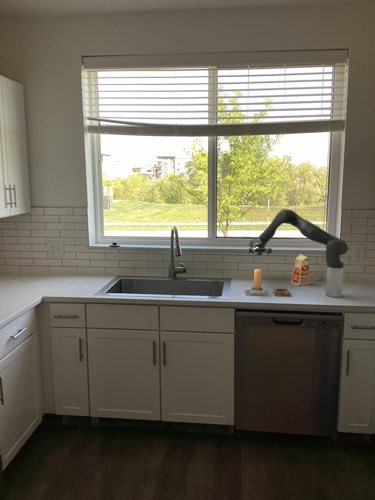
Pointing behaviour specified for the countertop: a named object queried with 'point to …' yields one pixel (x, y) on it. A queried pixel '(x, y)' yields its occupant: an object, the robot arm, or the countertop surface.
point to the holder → (281, 292)
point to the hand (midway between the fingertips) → (261, 252)
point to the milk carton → (301, 271)
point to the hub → (257, 292)
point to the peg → (257, 279)
